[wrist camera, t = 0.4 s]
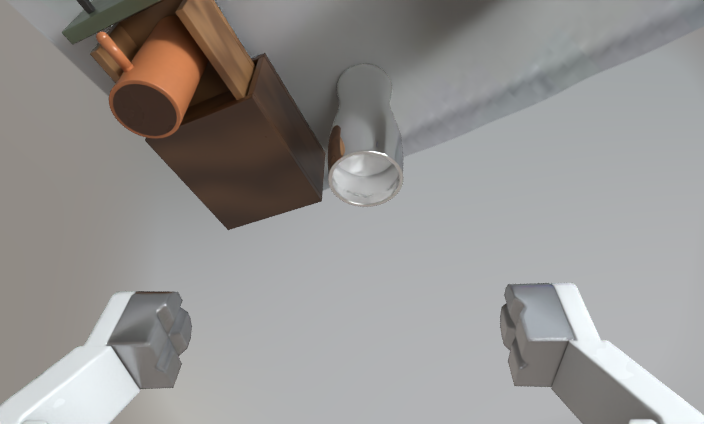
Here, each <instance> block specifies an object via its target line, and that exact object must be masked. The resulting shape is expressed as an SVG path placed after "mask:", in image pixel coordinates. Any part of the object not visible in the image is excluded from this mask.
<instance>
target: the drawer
mask: <svg viewBox="0 0 704 424" xmlns="http://www.w3.org/2000/svg"><path fill="white" fill-rule="evenodd" d="M77 1H78V3H79V4H80V5H81V6H82V7H83V9H84V10H83V11H82V12H81V13H80V14H79V15H78V16H77V17H76V18H75V19H74V20H73V21H72V22H71V23H70V24H69V25H68V27H67V28H66V29H65V30H64V31H63V32H62V33H63V35H64V36H65V37H66V38H67V39H68V40H69V41H70V42H71V43H72V44H75V43H77V42H79V41H81V40H83V39H85V38H87V37H89V36H91V35H93V34H95V33H97V32H99V31H101V30H103V29H105V28H107V27H109V26H111V25H113V24H114V25H113V26H112V27H111V29H110V30H109V31H108V32H107V34H108V35H109V36H110V38H111V39H112V40H113V41H114V42H115V44H116V45H117V46H118V47H119V48H120V50H121V51H122V52H123V53H124V55H125V56H126V57H127V58H128V59H129V61H130V62H131V60H132V59H133V57H134V56H135V54H136V53H137V51H138V50H139V49H140V47H141V46H142V44H143V43H144V41H145V40H146V38H147V37H148V35H149V34H150V32H151V31H152V30H153V28H154V27H155V25H156V24H157V23H158V22H159V21H160V20H161V19H163V18H165V17H168V16H178V17H179V18H180V20H181V21H182V23H183V24H184V26H185V27H186V28H187V30H188V31H189V33H190V34H191V36H192V37H193V38H194V40H195V41H196V43H197V44H198V45H199V47H200V48H201V50H202V51H203V53H204V54H205V55H206V57H207V58H208V60H209V62H208V64H207V66H206V69H205V71H204V73H203V75H202V78H201V80H200V82H199V84H198V86H197V89H196V91H195V93H194V95H193V98H192V100H191V102H190V104H189V106H188V109H187V111H186V113H185V115H184V118H183V120H182V122H184V121H186V120H189V119H191V118H194V117H196V116H199V115H201V114H204V113H206V112H209V111H211V110H214V109H216V108H218V107H221V106H223V105H226V104H228V103H231V102H233V101H236V100H238V99H241V98H243V97H246V96H247V95H248V92H249V88H250V85H251V82H252V78H253V75H254V72H255V69H256V66H255V65H254V63H253V61H252V60H251V58H250V57H249V55H248V53H247V52H246V50H245V49H244V47H243V46H242V44H241V42H240V41H239V39H238V38H237V36H236V34H235V33H234V31H233V30H232V28H231V26H230V25H229V23H228V22H227V20H226V19H225V17H224V15H223V14H222V12H221V11H220V9H219V7H218V6H217V4H216V3H215V1H214V0H93V1H92V2H90V1H89V0H77ZM90 55H91V56H92V57H93V58H94V59H95V60H96V61H97V63H98V64H99V65H100V66H101V67H102V68H103V69H104V70H105V72H106V73H107V74H108V75H109V76H110V77H111V78H112V79H113V81H114V82H115V83H116V82H117V81H118V79H119V78H120V76H121V75H122V73H123V72H124V71H123V70H122V69H121V68H120V67H119V65H118V64H117V63H116V62H115V61H114V60H113V58H112V57H111V56H110V55H109V54H108V53H107V51H106V50H105V49H104V48H103V47H102V46H101V44H100V43H98V44H97V46H96V47H95V48H94V49H93V50H92V52H91V53H90Z"/></svg>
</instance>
